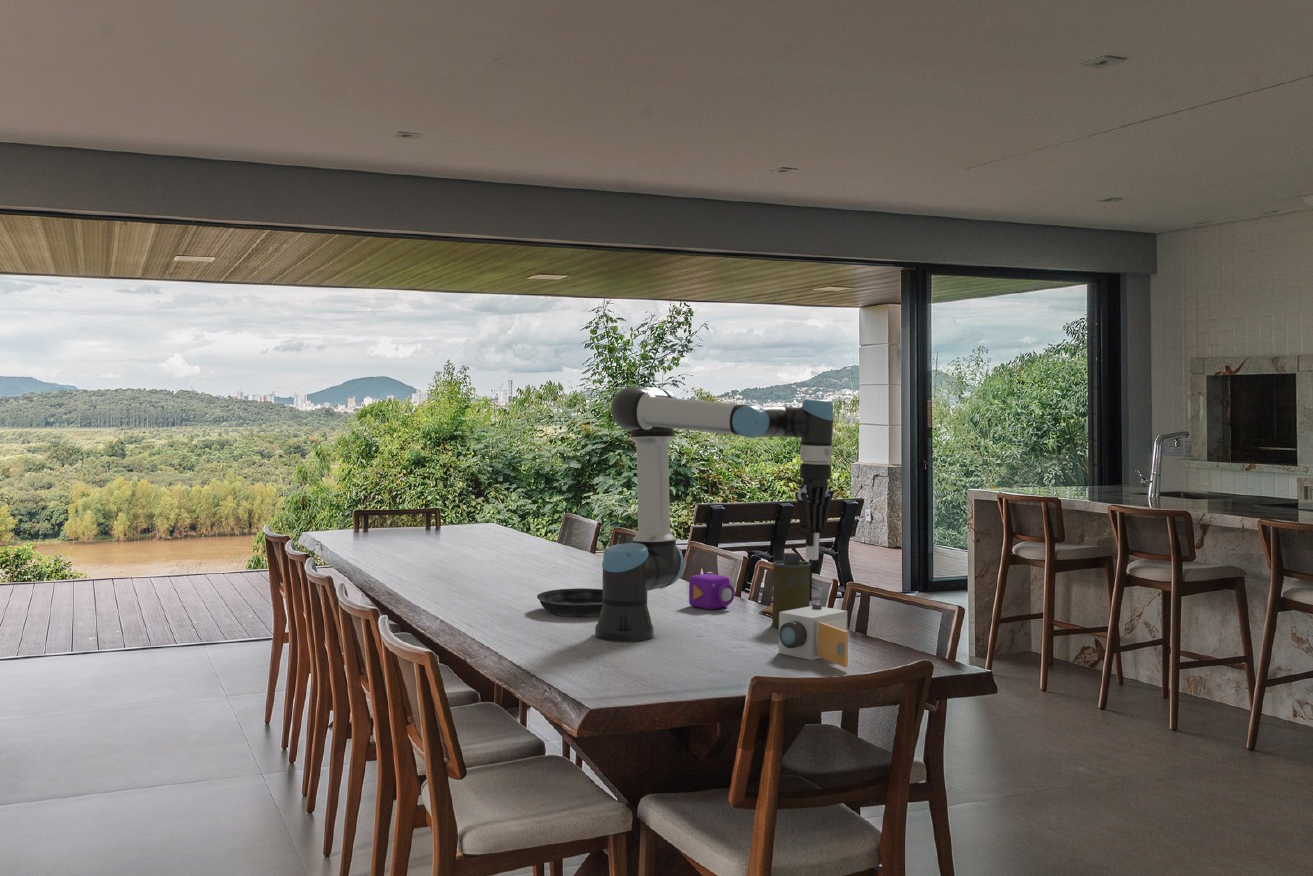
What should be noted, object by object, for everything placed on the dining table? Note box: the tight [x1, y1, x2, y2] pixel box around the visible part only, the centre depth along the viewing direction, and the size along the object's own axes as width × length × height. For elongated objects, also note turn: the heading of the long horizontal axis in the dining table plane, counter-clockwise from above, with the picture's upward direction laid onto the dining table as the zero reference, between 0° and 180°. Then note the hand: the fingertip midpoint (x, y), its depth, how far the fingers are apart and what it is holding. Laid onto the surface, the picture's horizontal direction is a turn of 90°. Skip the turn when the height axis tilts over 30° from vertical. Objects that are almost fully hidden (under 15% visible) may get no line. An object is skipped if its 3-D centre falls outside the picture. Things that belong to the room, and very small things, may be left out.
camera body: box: [778, 603, 848, 661], centre depth 259 cm, size 17×10×11 cm, turn 134°
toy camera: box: [688, 571, 735, 610], centre depth 319 cm, size 11×14×10 cm
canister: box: [771, 552, 813, 629], centre depth 292 cm, size 11×10×20 cm
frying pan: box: [536, 587, 603, 618], centre depth 316 cm, size 44×25×7 cm, turn 137°
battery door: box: [816, 621, 849, 668], centre depth 247 cm, size 13×2×8 cm, turn 22°
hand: (812, 559), depth 261 cm, fingers closed
